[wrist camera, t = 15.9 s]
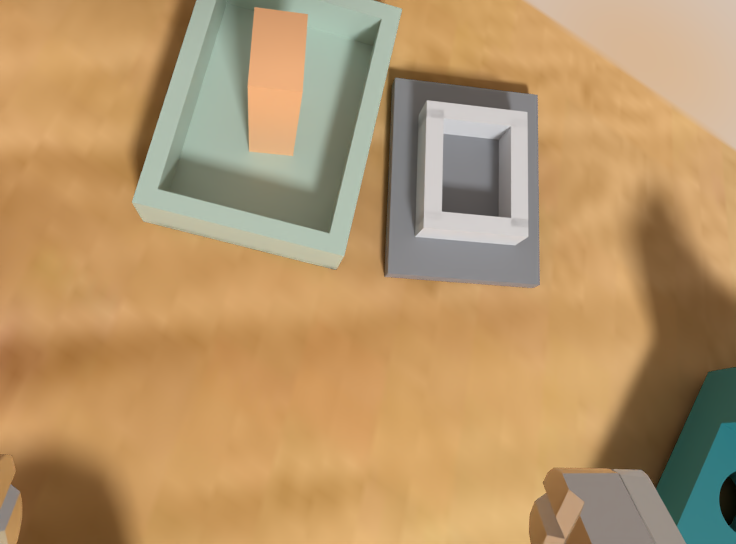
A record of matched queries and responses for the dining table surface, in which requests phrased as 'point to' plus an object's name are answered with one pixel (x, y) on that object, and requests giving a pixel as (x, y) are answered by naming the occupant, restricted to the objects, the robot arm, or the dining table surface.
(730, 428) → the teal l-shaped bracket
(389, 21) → the tray
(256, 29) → the orange rectangular block
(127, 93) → the dining table surface
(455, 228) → the grey socket base plate
